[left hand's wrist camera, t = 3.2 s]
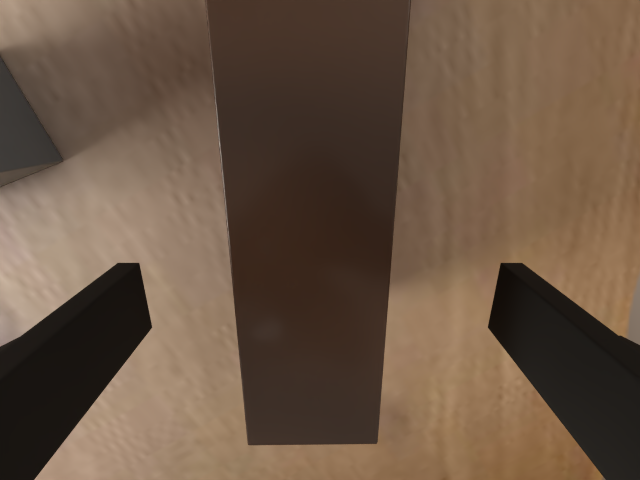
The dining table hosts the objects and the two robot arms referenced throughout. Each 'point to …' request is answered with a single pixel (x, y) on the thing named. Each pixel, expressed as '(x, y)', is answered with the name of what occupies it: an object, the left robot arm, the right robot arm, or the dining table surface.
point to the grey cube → (21, 134)
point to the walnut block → (310, 205)
